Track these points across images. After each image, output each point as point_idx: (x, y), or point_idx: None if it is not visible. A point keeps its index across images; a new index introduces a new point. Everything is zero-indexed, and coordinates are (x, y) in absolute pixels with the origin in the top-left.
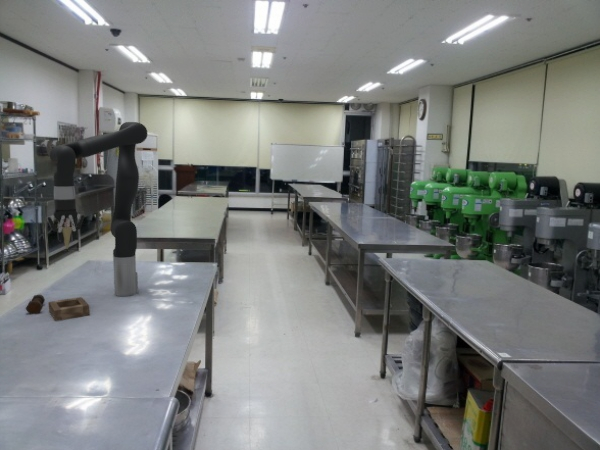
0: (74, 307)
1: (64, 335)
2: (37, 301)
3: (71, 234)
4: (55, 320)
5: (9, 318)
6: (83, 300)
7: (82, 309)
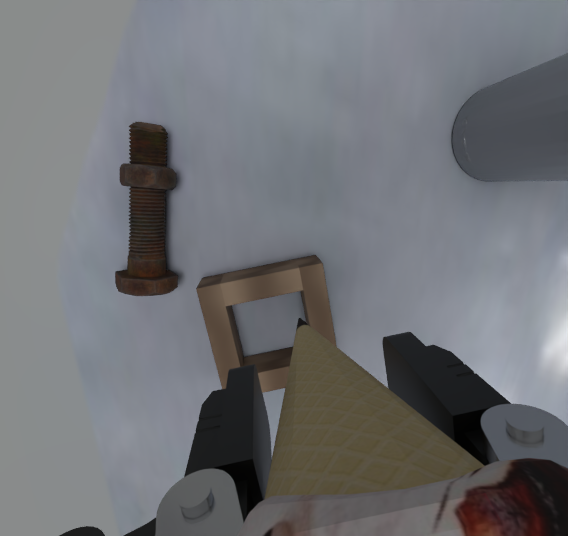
0: None
1: None
2: (153, 293)
3: (422, 407)
4: None
5: (75, 304)
6: (326, 313)
7: None
